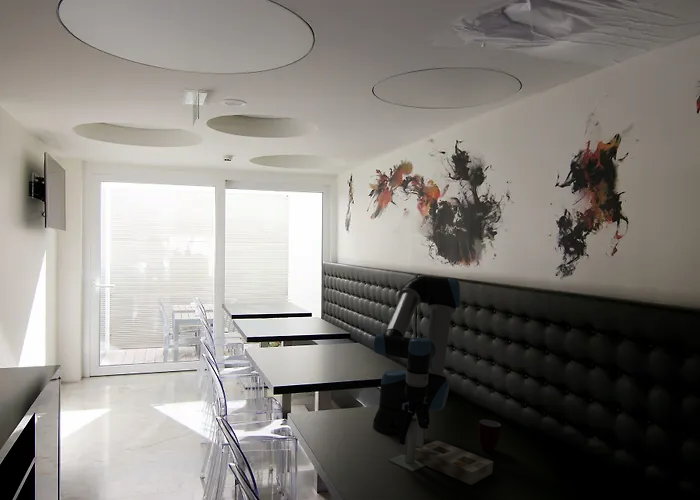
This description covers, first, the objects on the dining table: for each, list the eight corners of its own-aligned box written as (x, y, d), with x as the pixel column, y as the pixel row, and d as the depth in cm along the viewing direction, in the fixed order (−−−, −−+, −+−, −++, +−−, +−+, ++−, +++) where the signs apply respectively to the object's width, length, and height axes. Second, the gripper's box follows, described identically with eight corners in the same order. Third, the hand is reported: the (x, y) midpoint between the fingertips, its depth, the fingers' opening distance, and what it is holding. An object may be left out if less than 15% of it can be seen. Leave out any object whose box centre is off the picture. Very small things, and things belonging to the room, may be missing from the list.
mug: (498, 458, 181) (501, 430, 181) (476, 453, 183) (478, 426, 183) (498, 447, 191) (500, 421, 191) (476, 443, 193) (479, 418, 193)
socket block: (414, 460, 172) (415, 448, 172) (436, 451, 182) (437, 439, 182) (471, 485, 157) (472, 471, 157) (492, 473, 167) (493, 460, 167)
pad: (388, 460, 170) (388, 459, 170) (405, 454, 177) (405, 452, 177) (412, 471, 163) (412, 470, 163) (429, 464, 170) (429, 462, 170)
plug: (401, 460, 170) (405, 417, 170) (407, 458, 172) (412, 416, 172) (410, 464, 167) (414, 421, 167) (416, 461, 170) (420, 419, 170)
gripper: (406, 392, 160) (401, 462, 160) (443, 382, 175) (438, 445, 176) (388, 386, 165) (382, 454, 165) (425, 377, 181) (420, 438, 181)
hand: (411, 449), depth 170 cm, fingers open, 9 cm apart
